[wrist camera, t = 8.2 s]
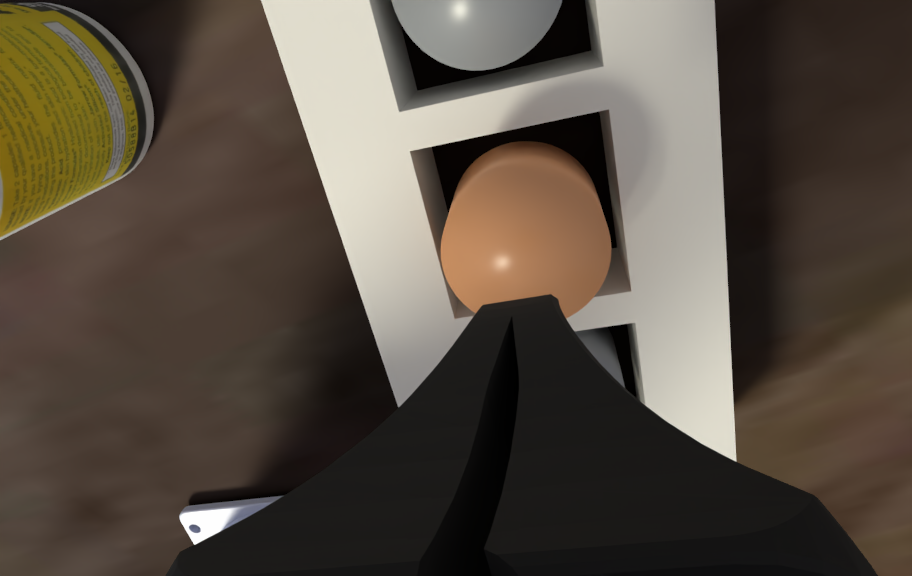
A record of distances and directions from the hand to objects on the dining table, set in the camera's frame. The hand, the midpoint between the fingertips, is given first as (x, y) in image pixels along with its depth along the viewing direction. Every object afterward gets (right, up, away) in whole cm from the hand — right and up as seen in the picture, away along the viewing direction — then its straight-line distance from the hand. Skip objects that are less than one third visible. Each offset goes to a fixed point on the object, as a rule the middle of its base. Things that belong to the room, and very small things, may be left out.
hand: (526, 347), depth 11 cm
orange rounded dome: (+1, +3, +6) cm, 7 cm away
